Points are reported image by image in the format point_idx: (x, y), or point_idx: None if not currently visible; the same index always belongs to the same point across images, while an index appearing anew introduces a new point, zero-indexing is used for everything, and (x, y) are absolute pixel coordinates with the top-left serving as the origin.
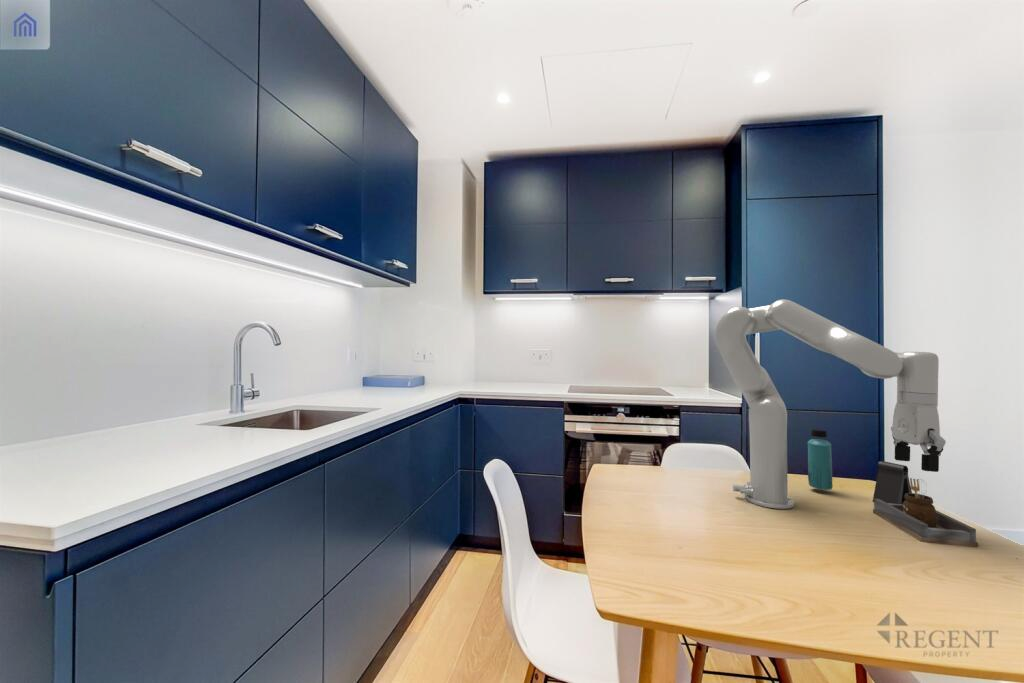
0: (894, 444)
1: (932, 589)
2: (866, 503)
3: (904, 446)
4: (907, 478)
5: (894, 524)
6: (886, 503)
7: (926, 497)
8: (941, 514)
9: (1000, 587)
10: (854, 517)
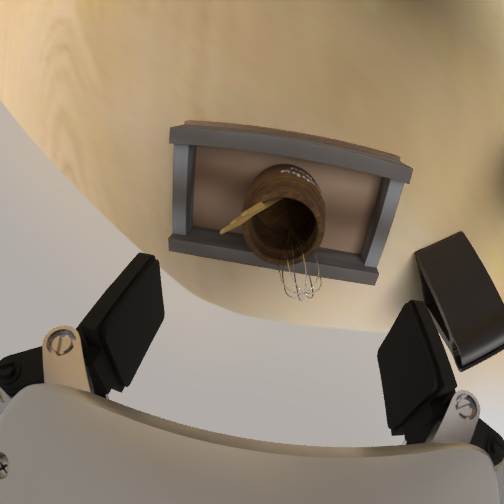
0: (466, 391)
1: (29, 38)
2: (457, 205)
3: (410, 417)
4: (448, 344)
5: (296, 132)
6: (365, 167)
7: (288, 259)
8: None
9: (41, 132)
10: (352, 62)
